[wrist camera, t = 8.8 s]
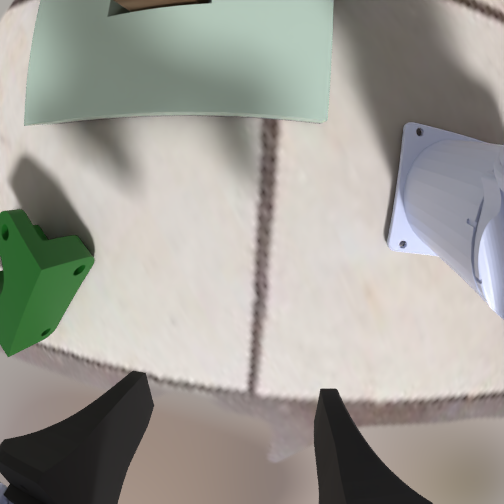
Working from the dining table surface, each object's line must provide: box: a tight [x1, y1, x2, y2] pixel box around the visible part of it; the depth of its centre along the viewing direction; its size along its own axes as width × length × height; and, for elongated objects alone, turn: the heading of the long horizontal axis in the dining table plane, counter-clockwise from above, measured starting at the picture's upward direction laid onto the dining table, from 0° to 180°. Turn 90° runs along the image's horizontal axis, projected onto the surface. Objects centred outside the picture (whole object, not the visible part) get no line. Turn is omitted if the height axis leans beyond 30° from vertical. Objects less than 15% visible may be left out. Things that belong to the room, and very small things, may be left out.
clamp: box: [0, 209, 94, 357], centre depth 21 cm, size 12×6×9 cm, turn 133°
